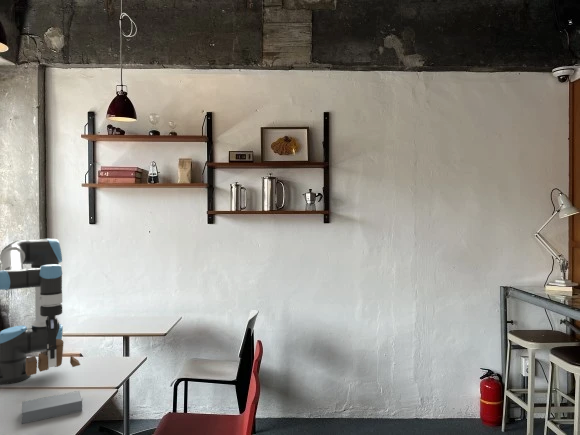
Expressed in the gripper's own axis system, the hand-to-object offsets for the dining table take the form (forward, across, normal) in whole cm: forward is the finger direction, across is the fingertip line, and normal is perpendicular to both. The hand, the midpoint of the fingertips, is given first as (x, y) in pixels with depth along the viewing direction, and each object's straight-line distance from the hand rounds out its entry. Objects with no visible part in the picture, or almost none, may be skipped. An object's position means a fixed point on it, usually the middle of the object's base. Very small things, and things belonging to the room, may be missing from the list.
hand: (51, 363), depth 169 cm
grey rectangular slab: (+19, 0, 0) cm, 19 cm away
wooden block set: (+2, +2, 0) cm, 2 cm away
